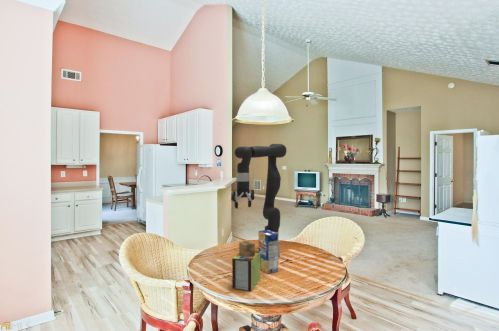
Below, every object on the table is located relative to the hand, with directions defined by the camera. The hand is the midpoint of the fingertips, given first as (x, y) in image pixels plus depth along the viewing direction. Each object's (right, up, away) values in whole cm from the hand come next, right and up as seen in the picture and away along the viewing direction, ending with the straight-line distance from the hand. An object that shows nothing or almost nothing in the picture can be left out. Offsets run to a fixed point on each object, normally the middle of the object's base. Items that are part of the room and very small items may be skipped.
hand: (243, 207), depth 166 cm
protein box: (+2, -37, -20) cm, 42 cm away
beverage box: (+15, -36, -1) cm, 39 cm away
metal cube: (+3, -21, -20) cm, 29 cm away
